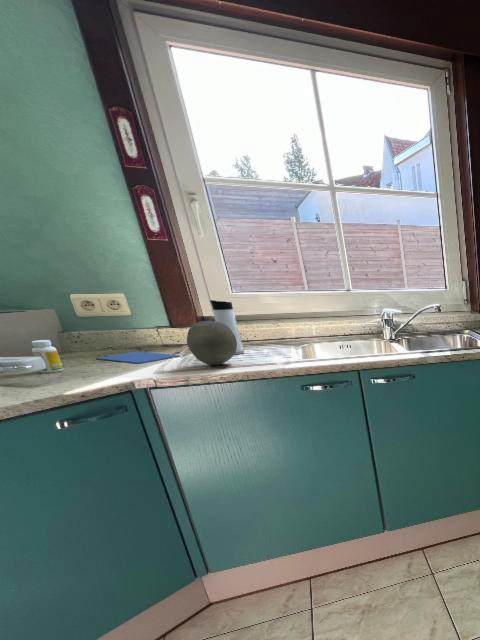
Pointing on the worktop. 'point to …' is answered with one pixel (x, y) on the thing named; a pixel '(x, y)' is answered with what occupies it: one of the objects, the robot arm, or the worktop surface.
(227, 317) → the travel mug
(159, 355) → the blue cloth
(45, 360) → the supplement bottle
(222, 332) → the cantaloupe
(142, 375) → the worktop surface
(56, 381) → the worktop surface
